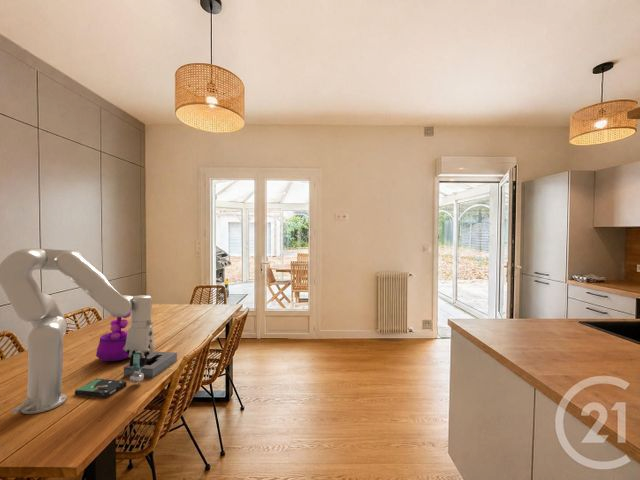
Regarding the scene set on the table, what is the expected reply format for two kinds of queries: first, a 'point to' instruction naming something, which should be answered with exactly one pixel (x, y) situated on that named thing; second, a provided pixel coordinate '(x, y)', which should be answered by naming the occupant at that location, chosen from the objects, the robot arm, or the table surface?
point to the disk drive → (100, 388)
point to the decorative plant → (114, 341)
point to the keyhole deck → (154, 364)
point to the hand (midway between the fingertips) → (137, 365)
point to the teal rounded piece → (136, 368)
